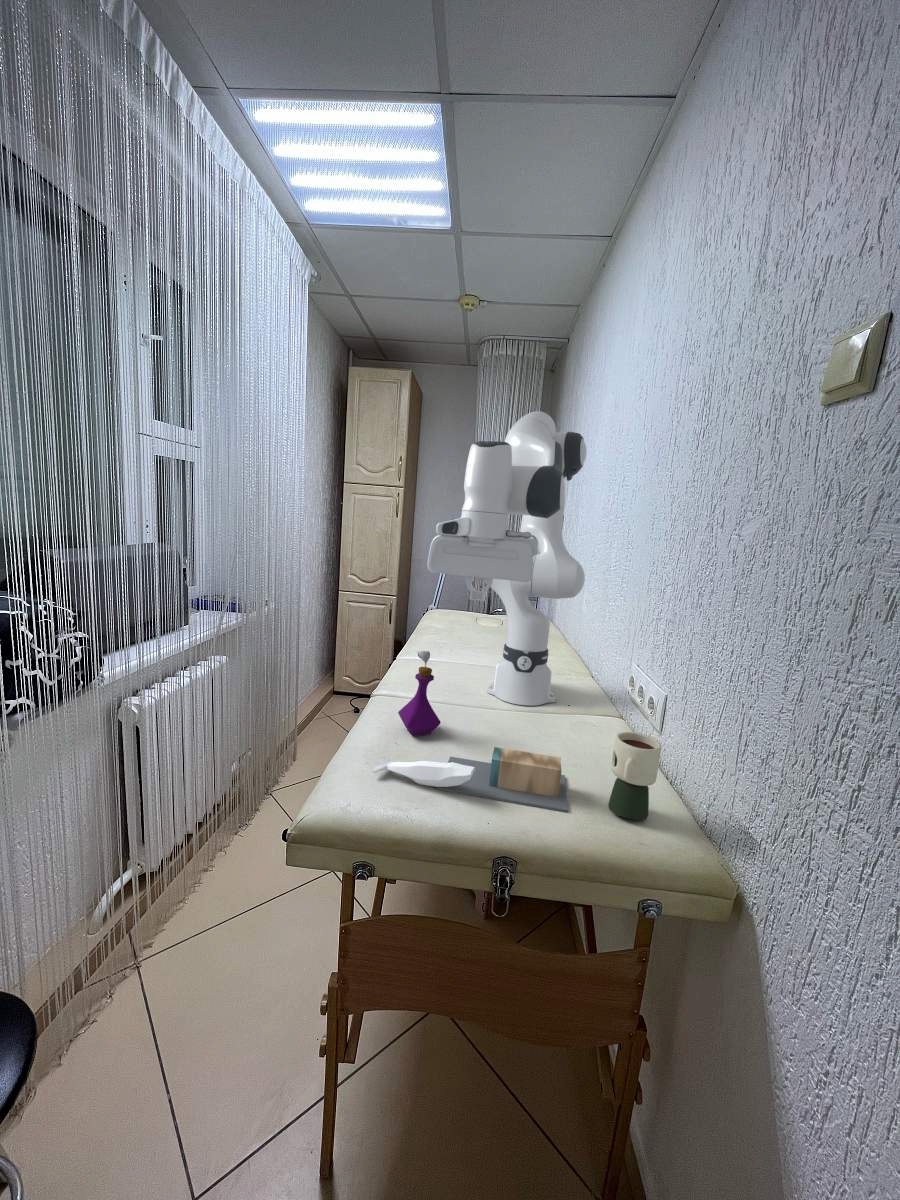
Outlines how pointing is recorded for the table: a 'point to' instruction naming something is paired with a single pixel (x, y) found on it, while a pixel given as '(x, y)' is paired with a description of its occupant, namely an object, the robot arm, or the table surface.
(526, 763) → the oak block
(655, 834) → the table surface
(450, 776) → the white fish figurine
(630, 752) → the character mug
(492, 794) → the rubber mat
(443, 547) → the robot arm
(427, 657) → the perfume bottle
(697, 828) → the table surface
